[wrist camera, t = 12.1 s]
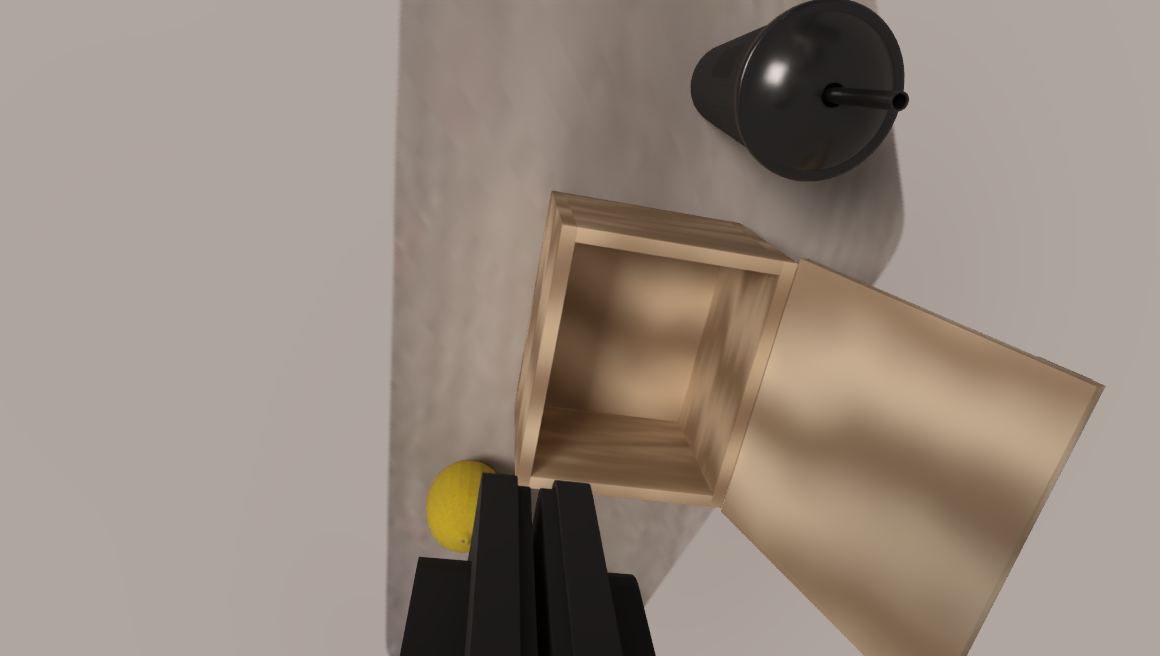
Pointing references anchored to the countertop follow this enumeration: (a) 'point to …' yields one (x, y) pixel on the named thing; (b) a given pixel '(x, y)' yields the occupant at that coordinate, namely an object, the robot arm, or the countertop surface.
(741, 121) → the drinking cup
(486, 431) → the countertop surface
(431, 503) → the lemon
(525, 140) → the countertop surface
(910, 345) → the lid flap
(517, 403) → the light brown boxy piece
